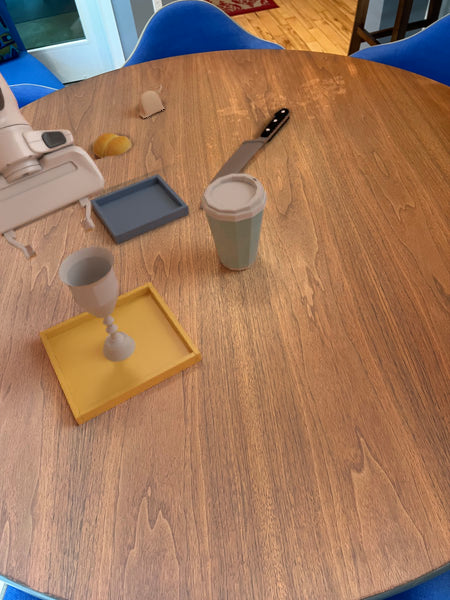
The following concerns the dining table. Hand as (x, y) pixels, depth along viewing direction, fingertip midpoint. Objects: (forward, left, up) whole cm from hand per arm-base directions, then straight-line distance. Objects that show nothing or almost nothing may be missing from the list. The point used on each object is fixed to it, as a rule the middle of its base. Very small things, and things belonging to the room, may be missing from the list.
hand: (62, 243), depth 71 cm
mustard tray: (+1, -12, -14) cm, 18 cm away
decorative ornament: (+38, +54, -14) cm, 67 cm away
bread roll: (+22, +42, -14) cm, 49 cm away
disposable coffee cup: (+27, -5, -14) cm, 31 cm away
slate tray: (+18, +18, -14) cm, 29 cm away
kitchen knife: (+46, +21, -14) cm, 52 cm away
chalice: (+1, -12, -13) cm, 18 cm away
